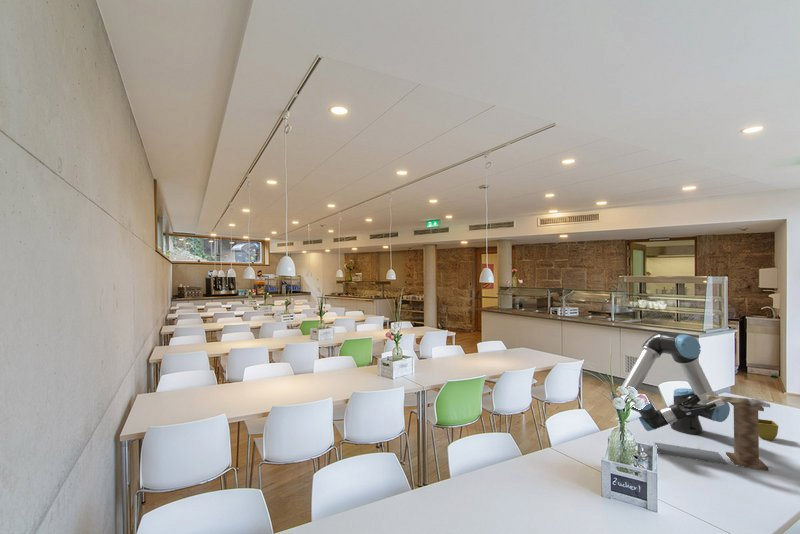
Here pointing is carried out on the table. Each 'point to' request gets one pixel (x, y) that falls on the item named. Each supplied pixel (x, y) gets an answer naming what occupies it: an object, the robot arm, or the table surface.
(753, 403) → the bar
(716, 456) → the mat
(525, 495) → the table surface
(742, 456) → the pedestal
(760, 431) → the flower pot
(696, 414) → the robot arm
